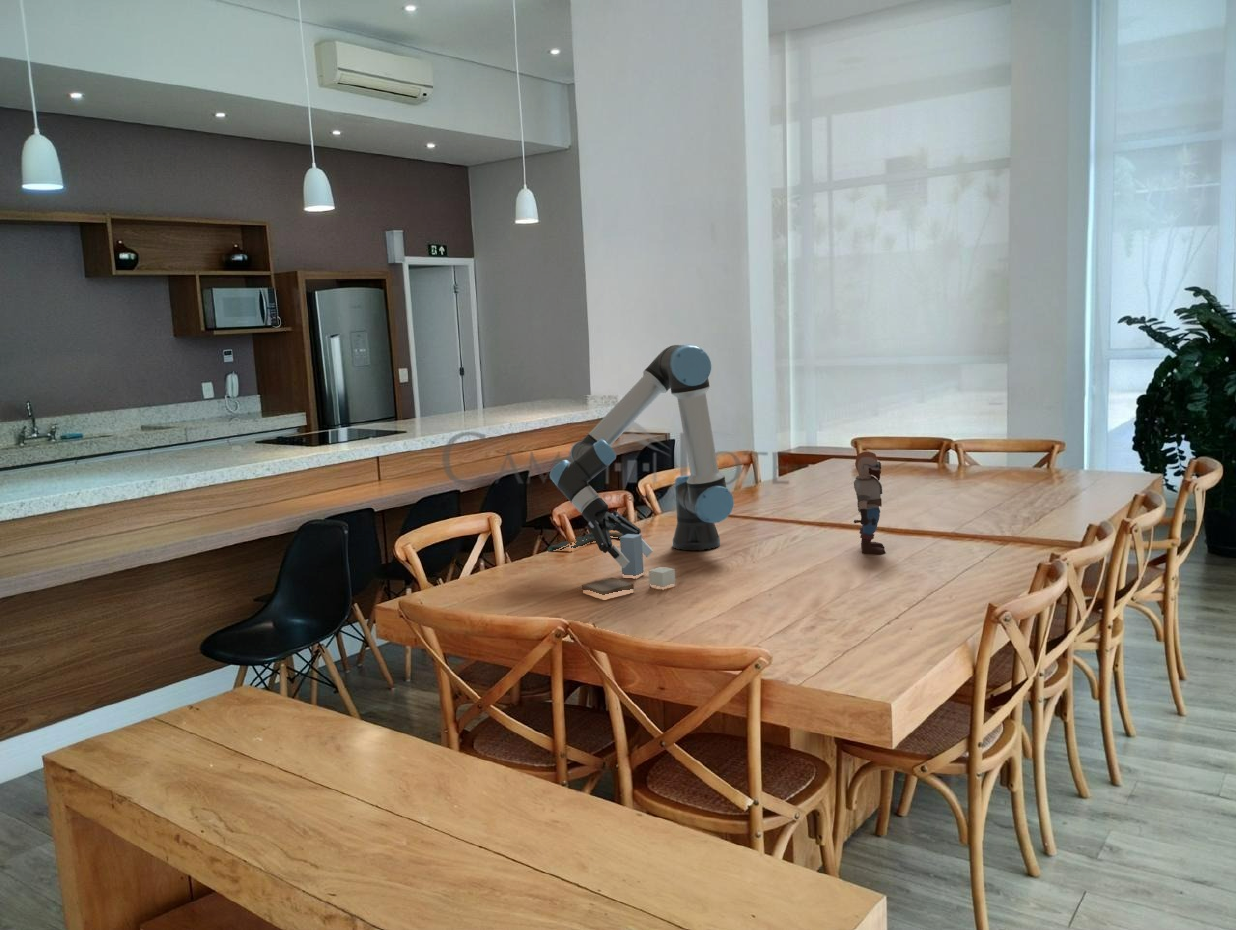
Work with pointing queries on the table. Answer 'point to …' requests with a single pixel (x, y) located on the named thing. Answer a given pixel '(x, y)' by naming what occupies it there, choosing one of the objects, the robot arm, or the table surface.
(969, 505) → the table surface
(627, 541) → the pillar
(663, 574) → the grey-green cube
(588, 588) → the slab
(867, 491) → the toy
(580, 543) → the firearm
